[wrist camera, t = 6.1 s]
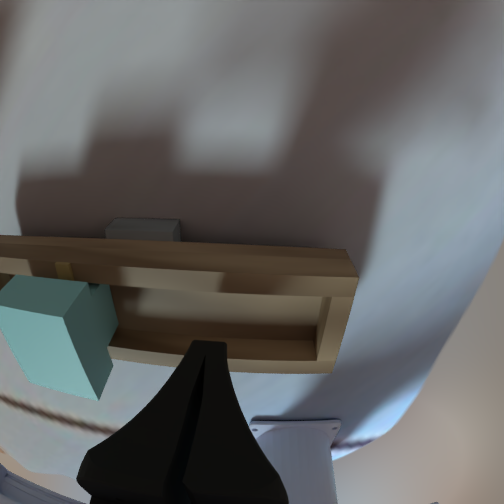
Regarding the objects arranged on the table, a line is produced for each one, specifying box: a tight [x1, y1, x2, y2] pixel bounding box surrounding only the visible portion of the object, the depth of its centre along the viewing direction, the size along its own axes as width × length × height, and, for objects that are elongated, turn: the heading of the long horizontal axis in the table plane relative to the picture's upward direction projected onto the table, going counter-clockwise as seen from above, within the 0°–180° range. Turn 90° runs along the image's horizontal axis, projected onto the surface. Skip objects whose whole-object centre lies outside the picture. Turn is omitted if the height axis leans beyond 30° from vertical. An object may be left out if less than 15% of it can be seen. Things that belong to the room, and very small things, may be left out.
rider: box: [0, 274, 119, 401], centre depth 13 cm, size 5×4×5 cm
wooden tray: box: [0, 218, 359, 374], centre depth 16 cm, size 7×20×4 cm, turn 88°
